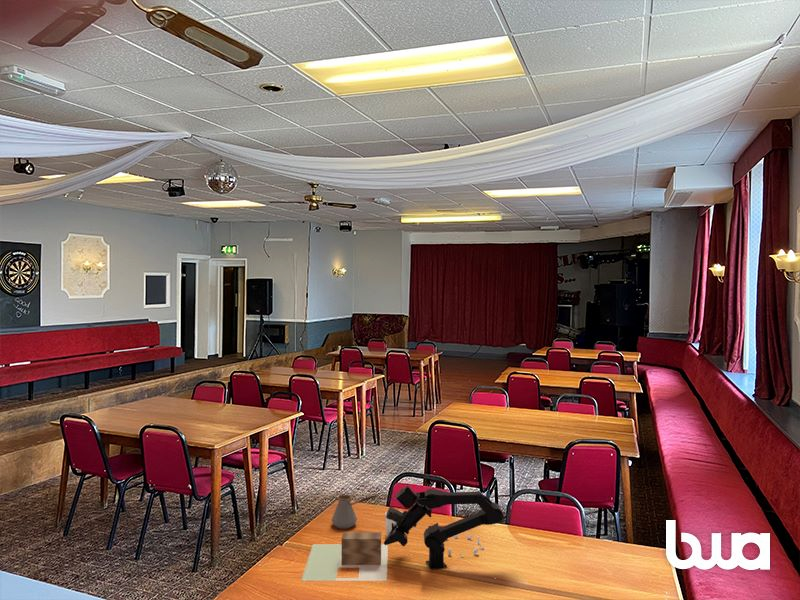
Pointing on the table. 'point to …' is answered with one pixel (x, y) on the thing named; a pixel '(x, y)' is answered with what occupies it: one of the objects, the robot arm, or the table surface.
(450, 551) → the game piece set
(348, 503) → the coffee pot
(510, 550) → the table surface
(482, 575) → the table surface
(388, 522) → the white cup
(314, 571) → the trap board
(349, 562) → the brown wooden block
